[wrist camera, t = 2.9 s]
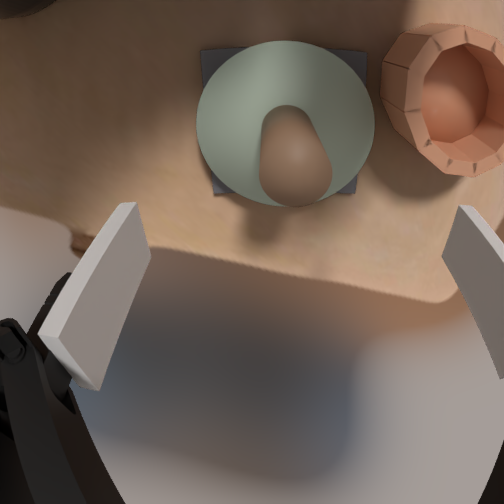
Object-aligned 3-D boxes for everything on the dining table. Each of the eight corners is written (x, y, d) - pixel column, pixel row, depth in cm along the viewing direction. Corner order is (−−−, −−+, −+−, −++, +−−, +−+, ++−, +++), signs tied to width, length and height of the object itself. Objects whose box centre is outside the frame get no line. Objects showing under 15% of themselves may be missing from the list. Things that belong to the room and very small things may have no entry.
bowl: (375, 144, 24) (395, 169, 20) (383, 12, 17) (410, 8, 13) (479, 157, 23) (508, 182, 19) (496, 45, 16) (532, 55, 12)
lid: (208, 198, 27) (185, 274, 20) (193, 45, 19) (147, 53, 11) (359, 198, 26) (392, 273, 19) (373, 47, 18) (434, 60, 11)
